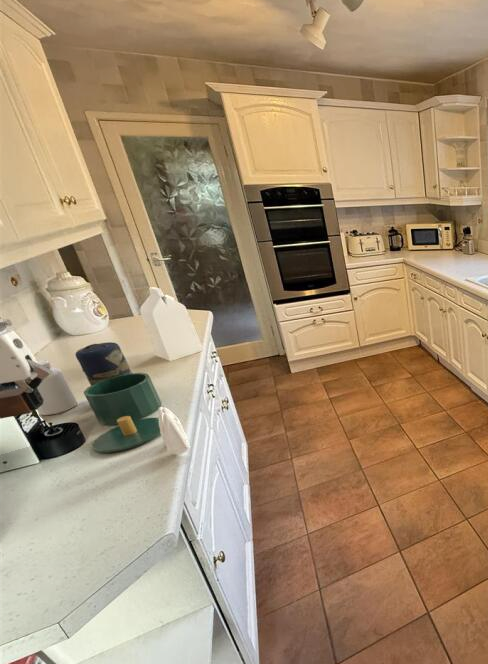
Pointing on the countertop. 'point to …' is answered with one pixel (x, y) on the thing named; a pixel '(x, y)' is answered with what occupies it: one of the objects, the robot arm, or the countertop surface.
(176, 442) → the white piece
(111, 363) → the canister
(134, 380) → the tea tin
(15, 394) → the block
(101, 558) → the countertop surface
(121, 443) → the tin lid
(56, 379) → the pill bottle
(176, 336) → the milk
